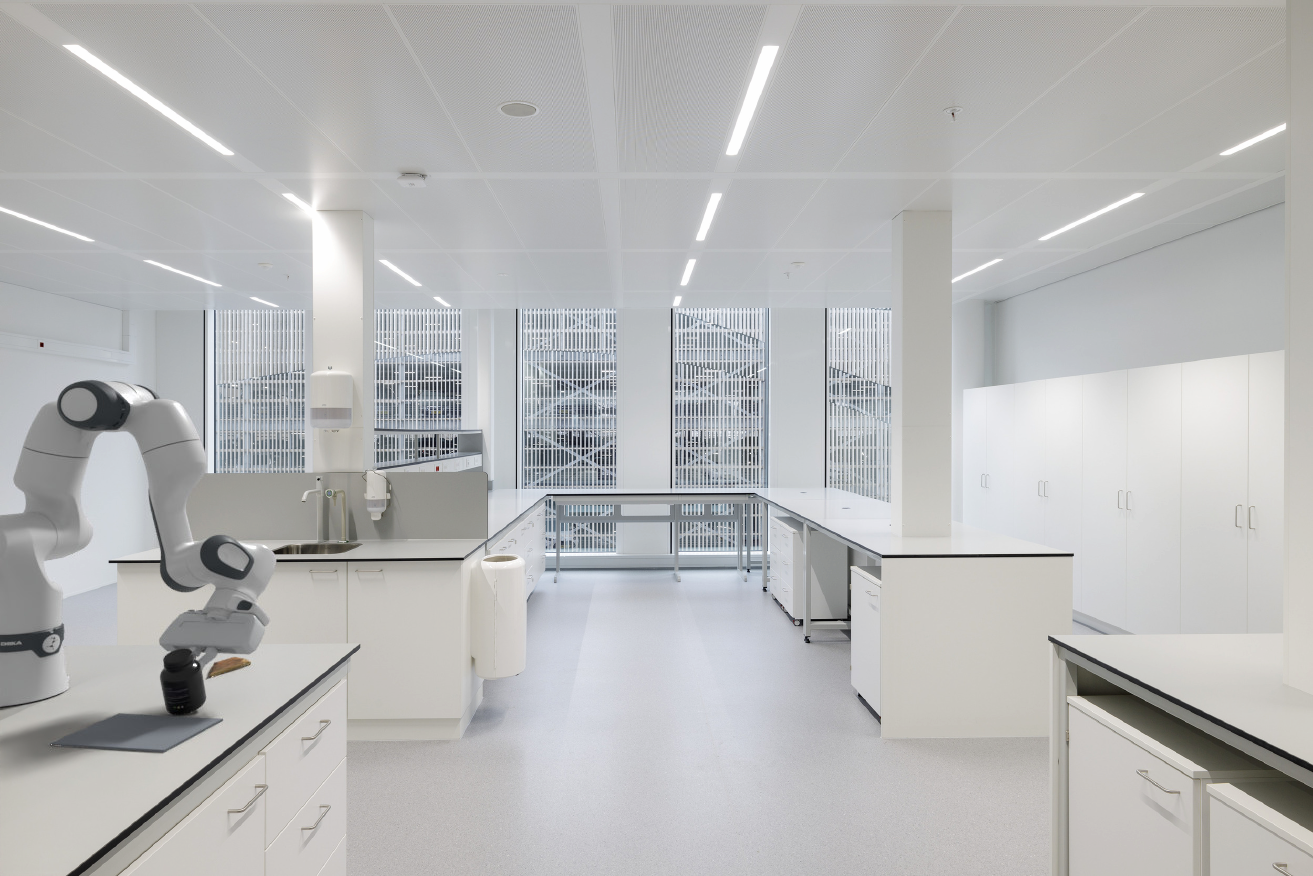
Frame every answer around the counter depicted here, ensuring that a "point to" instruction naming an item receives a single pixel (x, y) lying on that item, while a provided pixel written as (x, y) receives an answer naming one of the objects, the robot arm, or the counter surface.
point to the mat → (138, 732)
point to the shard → (228, 665)
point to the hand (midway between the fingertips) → (191, 670)
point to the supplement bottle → (182, 683)
